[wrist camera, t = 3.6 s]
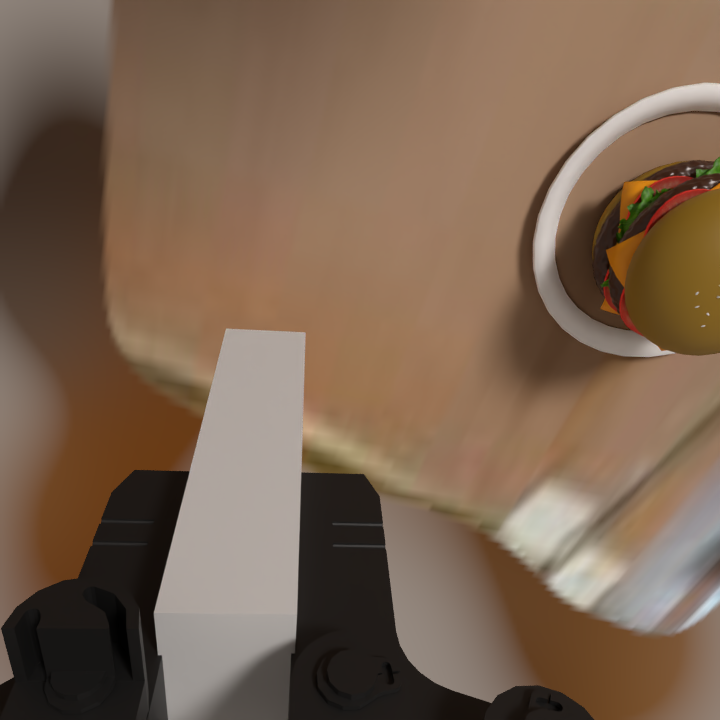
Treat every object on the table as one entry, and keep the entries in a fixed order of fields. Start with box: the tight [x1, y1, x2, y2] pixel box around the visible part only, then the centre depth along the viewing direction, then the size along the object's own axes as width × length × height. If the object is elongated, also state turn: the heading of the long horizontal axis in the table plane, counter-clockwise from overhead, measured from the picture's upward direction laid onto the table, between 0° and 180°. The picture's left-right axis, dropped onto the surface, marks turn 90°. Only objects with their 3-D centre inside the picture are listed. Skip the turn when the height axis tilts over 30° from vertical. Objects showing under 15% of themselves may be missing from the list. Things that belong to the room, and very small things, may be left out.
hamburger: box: [533, 83, 720, 357], centre depth 20 cm, size 12×12×6 cm
